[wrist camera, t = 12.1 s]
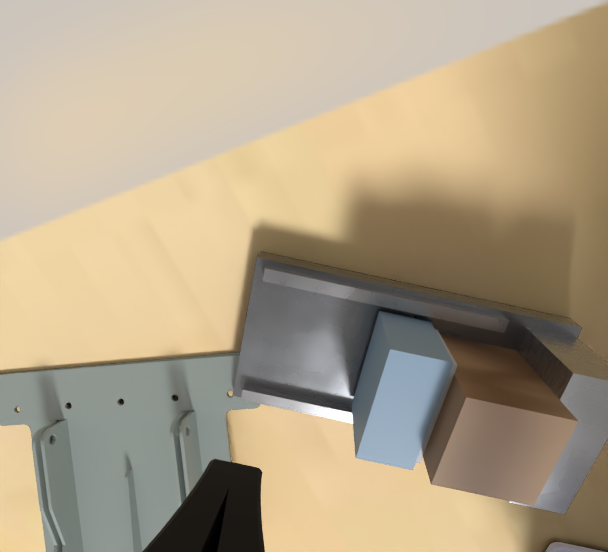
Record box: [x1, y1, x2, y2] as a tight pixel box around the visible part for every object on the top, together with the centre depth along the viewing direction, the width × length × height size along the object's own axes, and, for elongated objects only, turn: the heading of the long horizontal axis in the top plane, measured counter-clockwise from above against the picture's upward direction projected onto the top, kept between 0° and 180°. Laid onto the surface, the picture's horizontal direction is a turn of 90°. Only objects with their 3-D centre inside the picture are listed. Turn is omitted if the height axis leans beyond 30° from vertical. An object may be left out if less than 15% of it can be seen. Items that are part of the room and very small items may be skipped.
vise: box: [233, 252, 608, 514], centre depth 18 cm, size 15×8×5 cm, turn 79°
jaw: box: [352, 311, 458, 470], centre depth 17 cm, size 3×5×4 cm, turn 169°
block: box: [423, 334, 578, 506], centre depth 17 cm, size 4×4×5 cm
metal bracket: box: [0, 352, 260, 552], centre depth 23 cm, size 14×6×15 cm
